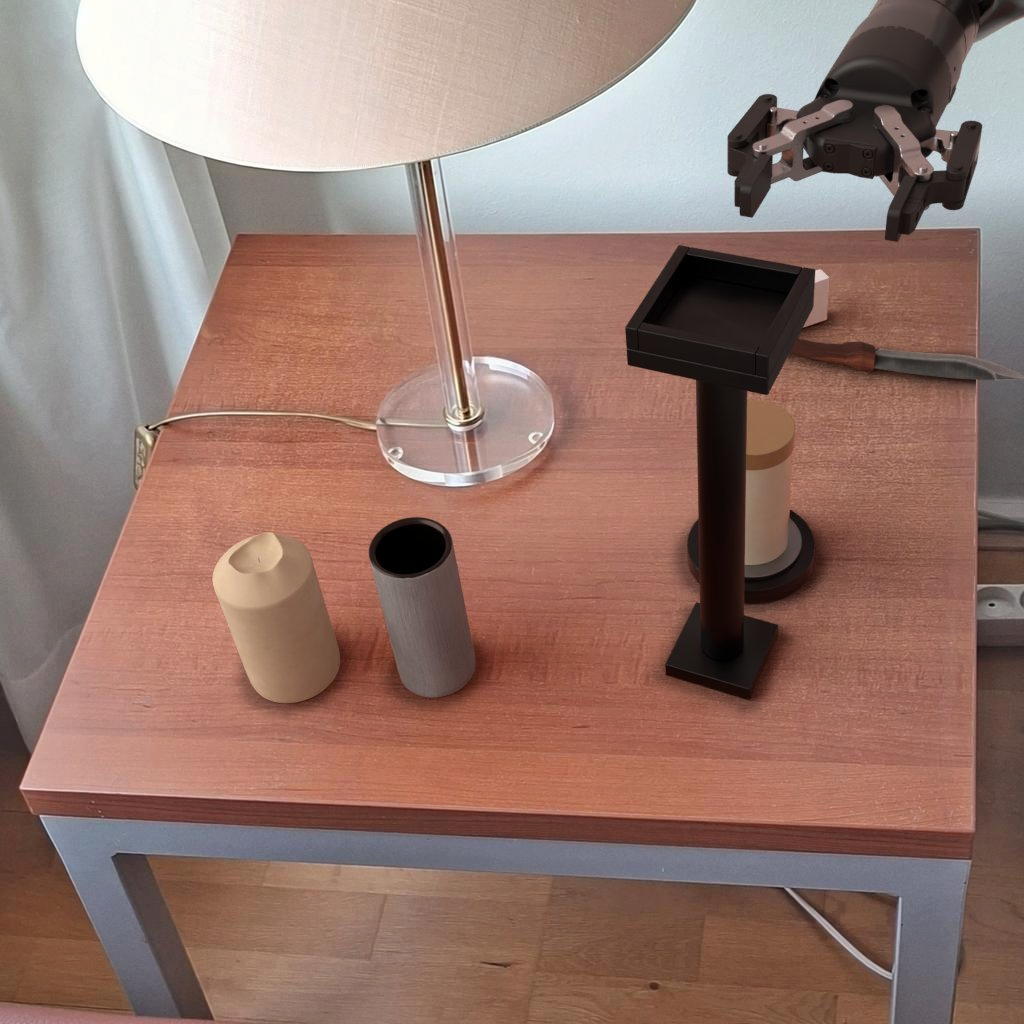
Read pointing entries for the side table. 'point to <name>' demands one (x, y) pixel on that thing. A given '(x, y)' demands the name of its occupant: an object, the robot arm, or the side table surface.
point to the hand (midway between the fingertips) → (817, 215)
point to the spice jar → (767, 481)
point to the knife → (903, 361)
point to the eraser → (819, 299)
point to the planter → (423, 605)
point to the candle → (277, 617)
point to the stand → (721, 430)
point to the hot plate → (770, 564)
